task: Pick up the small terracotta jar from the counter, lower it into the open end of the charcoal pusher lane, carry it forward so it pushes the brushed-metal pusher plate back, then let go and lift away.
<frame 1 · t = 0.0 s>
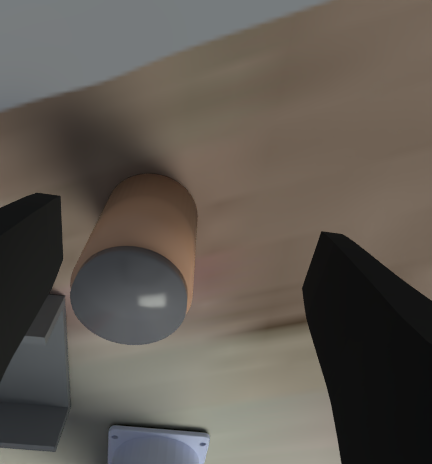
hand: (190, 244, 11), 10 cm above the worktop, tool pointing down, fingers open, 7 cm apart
jar: (152, 215, 22), on the worktop
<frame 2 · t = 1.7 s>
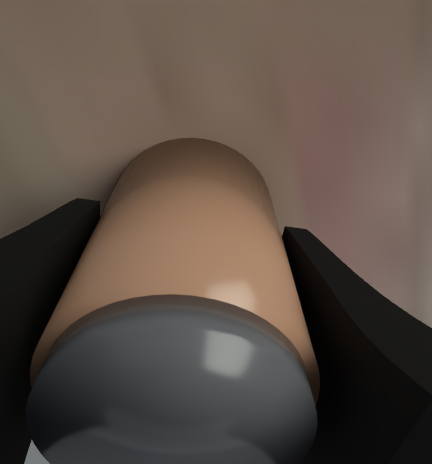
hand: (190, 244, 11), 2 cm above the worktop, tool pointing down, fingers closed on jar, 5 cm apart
jar: (192, 215, 13), on the worktop, touching gripper
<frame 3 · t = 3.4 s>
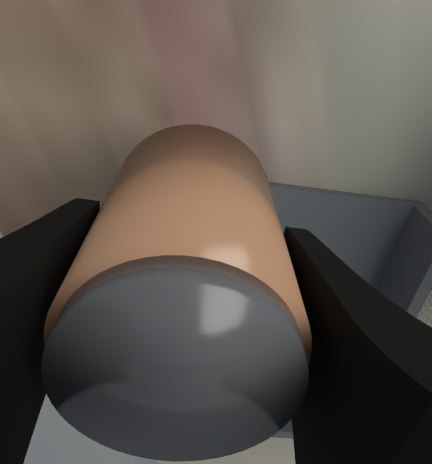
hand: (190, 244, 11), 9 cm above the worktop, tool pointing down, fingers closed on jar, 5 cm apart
jar: (193, 199, 13), point 6 cm above the worktop, touching gripper
pusher lane: (281, 303, 24), on the worktop
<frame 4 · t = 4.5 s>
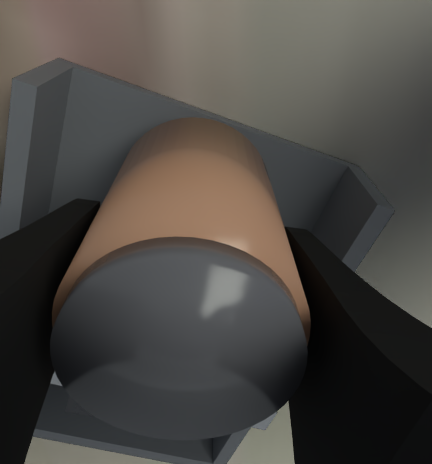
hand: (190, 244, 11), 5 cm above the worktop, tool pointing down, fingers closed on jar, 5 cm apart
jar: (194, 191, 14), point 2 cm above the worktop, touching gripper
pusher lane: (160, 278, 18), on the worktop
pusher plate: (149, 339, 15), point 4 cm above the worktop, slide at 0.0 cm
when the fingers open (4 cm above the worktop, at t = 5.3 s): jar stays where it is, resting on pusher lane.
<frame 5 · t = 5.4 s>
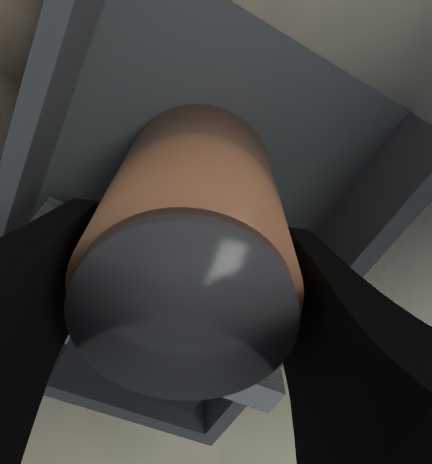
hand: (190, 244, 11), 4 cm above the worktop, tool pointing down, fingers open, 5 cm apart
jar: (198, 176, 14), point 1 cm above the worktop, touching pusher lane
pusher lane: (175, 221, 16), on the worktop
pusher plate: (151, 304, 13), point 4 cm above the worktop, slide at 1.2 cm, touching gripper
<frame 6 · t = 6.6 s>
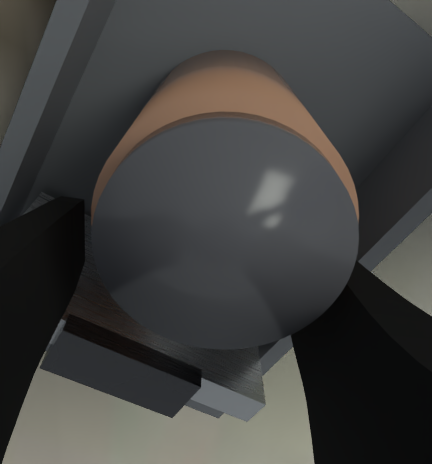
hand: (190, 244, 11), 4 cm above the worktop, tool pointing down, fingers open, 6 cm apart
jar: (223, 132, 13), point 1 cm above the worktop, touching gripper, pusher lane
pusher lane: (202, 172, 15), on the worktop
pusher plate: (138, 307, 13), point 4 cm above the worktop, slide at 3.8 cm, touching gripper
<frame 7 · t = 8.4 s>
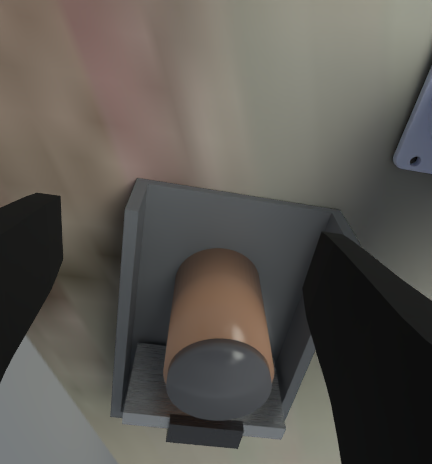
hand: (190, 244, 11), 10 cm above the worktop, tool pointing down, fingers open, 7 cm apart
jar: (217, 283, 24), point 1 cm above the worktop, touching pusher lane
pusher lane: (216, 301, 25), on the worktop
pusher plate: (205, 392, 24), point 4 cm above the worktop, slide at 4.0 cm
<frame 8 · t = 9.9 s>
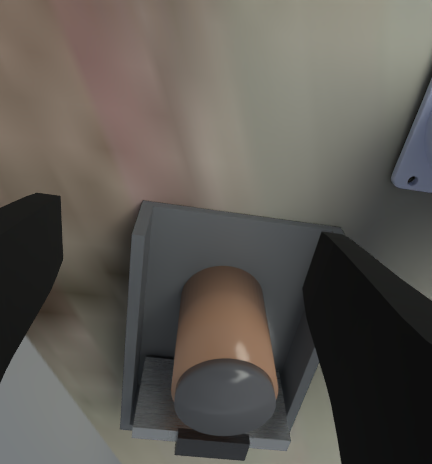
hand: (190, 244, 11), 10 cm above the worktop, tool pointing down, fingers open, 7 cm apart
jar: (222, 299, 24), point 1 cm above the worktop, touching pusher lane
pusher lane: (221, 315, 26), on the worktop
pusher plate: (211, 405, 25), point 4 cm above the worktop, slide at 4.0 cm
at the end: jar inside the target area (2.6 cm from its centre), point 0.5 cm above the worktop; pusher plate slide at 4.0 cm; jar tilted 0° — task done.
